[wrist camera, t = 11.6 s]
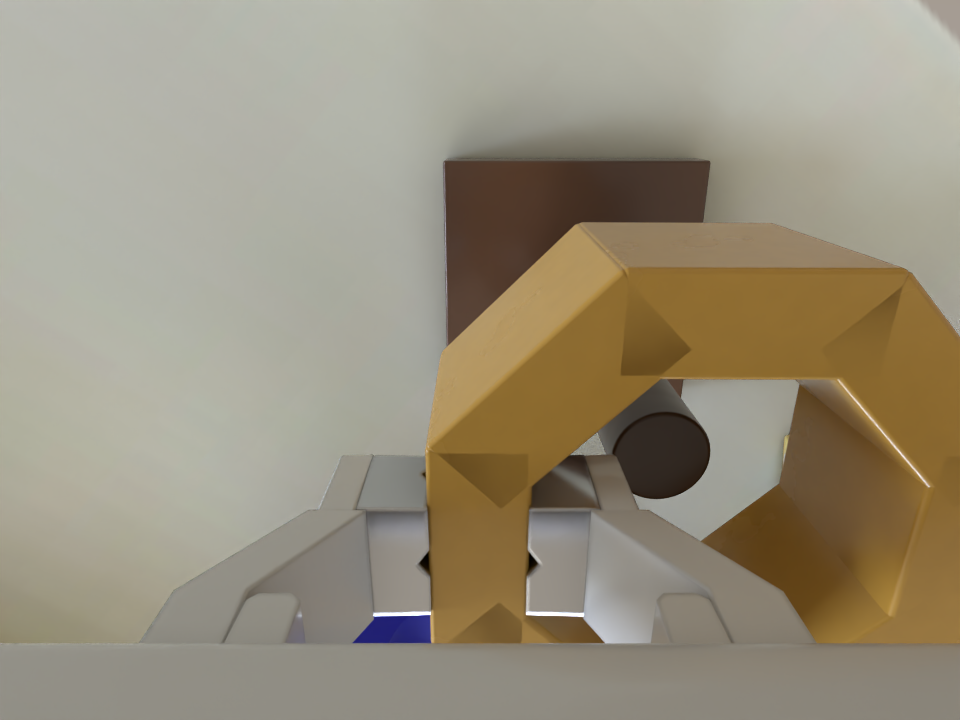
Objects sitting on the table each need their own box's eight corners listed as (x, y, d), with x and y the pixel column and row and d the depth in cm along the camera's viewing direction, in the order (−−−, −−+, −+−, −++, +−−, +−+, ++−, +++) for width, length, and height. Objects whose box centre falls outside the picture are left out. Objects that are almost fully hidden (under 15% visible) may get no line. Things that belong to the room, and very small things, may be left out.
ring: (445, 600, 13) (434, 761, 10) (438, 221, 10) (418, 267, 7) (818, 601, 13) (933, 761, 10) (912, 222, 11) (1116, 270, 7)
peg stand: (449, 389, 25) (420, 650, 13) (445, 158, 22) (401, 202, 10) (669, 389, 25) (856, 649, 13) (696, 158, 22) (981, 202, 10)
